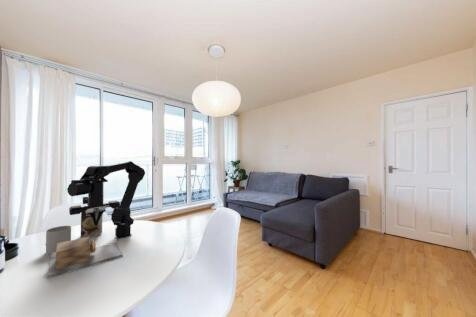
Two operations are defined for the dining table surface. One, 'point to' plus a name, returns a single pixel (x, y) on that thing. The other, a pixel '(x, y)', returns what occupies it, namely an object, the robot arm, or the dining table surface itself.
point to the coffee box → (90, 225)
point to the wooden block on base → (80, 256)
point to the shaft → (92, 249)
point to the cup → (57, 237)
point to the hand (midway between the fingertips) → (95, 225)
